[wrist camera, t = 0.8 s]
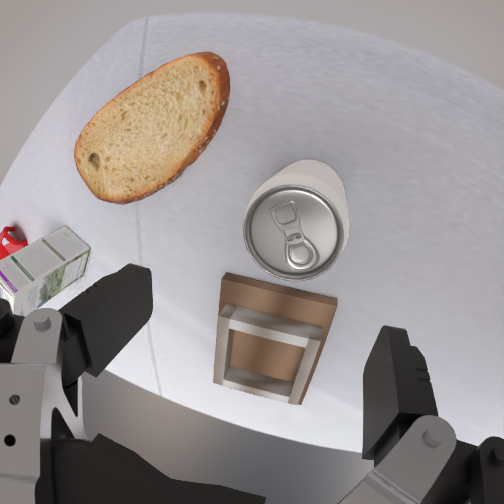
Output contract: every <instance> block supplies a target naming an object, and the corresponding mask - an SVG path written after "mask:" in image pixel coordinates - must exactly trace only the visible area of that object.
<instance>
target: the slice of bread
mask: <svg viewBox="0 0 504 504" xmlns="http://www.w3.org/2000/svg"><path fill="white" fill-rule="evenodd" d="M229 93H230V77H229V72H228V70H227V66H226V63H225V61H224V60H223V59H222V58H221V57H220V56H218V55H216V54H214V53H212V52H200V53H195V54H191V55H187V56H185V57H181V58H178V59H175V60H173V61H171V62H169V63H166V64H164V65H162V66H161V67H159V68H158V69H156V70H155V71H153V72H150V73H149V74H147V75H146V76H144V77H143V78H142V79H140V80H138V81H136V82H135V83H134V84H132V85H131V86H129V87H128V88H126V89H125V90H124V91H122V92H121V93H119V94H118V95H117V96H116V97H115V98H114V99H112V100H111V101H110V102H109V103H107V104H106V105H105V106H104V107H103V108H102V109H100V110H99V111H98V112H97V113H96V115H95V116H94V117H93V118H92V120H91V121H90V122H89V123H88V124H87V125H86V126H85V127H84V129H83V131H82V132H81V133H80V135H79V136H78V139H77V141H76V144H75V150H74V157H75V162H76V166H77V170H78V172H79V174H80V176H81V177H82V179H83V181H84V182H85V183H86V185H87V186H88V188H89V189H90V190H91V192H92V193H93V194H94V195H95V196H96V197H97V198H98V199H100V200H103V201H106V202H111V203H115V204H127V203H130V202H133V201H138V200H142V199H144V198H145V197H147V196H150V195H152V194H153V193H155V192H157V191H158V190H160V189H162V188H164V187H165V186H166V185H168V184H170V183H172V182H174V180H175V179H176V178H177V177H178V176H179V175H180V173H181V172H182V171H183V169H184V168H186V167H187V166H189V165H191V164H192V163H194V162H195V161H196V159H197V158H198V157H199V155H200V154H201V153H202V152H203V151H204V150H205V148H206V147H207V145H208V144H209V142H210V141H211V139H212V138H213V137H214V135H215V134H216V132H217V130H218V128H219V126H220V124H221V122H222V119H223V116H224V114H225V111H226V108H227V105H228V101H229Z"/></svg>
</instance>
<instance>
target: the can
mask: <svg viewBox="0 0 504 504" xmlns="http://www.w3.org/2000/svg"><path fill="white" fill-rule="evenodd" d="M349 231H350V220H349V212H348V206H347V200H346V195H345V190H344V186H343V183H342V181H341V179H340V177H339V176H338V174H337V173H336V172H335V171H334V170H333V169H332V168H331V167H330V166H328V165H327V164H325V163H323V162H320V161H317V160H310V159H307V160H300V161H296V162H294V163H292V164H290V165H288V166H287V167H285V168H284V169H282V170H281V171H279V172H278V173H277V174H275V175H274V176H273V177H271V178H270V179H269V180H267V181H266V182H265V183H263V184H262V185H261V186H260V187H259V188H258V189H257V190H256V192H255V193H254V194H253V196H252V197H251V199H250V201H249V203H248V205H247V208H246V212H245V218H244V228H243V234H244V241H245V245H246V247H247V250H248V252H249V254H250V256H251V257H252V259H253V260H254V261H255V263H256V264H257V265H258V266H259V267H260V268H261V269H263V270H264V271H265V272H267V273H268V274H270V275H272V276H274V277H277V278H279V279H283V280H287V281H305V280H309V279H312V278H315V277H317V276H319V275H321V274H323V273H324V272H326V271H327V270H328V269H329V268H330V267H331V266H332V265H333V264H334V263H335V261H336V260H337V259H338V258H339V256H340V255H341V254H342V252H343V250H344V248H345V246H346V244H347V241H348V237H349Z"/></svg>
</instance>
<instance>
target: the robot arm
mask: <svg viewBox="0 0 504 504" xmlns="http://www.w3.org/2000/svg"><path fill="white" fill-rule="evenodd" d="M152 311H153V295H152V275H151V271H150V269H149V268H145V267H142V266H138V265H135V264H131V263H130V264H127V265H126V266H125V267H123V268H122V269H121V270H119V271H118V272H116V273H113V274H110V275H108V276H105V277H102V278H101V279H100V280H98V281H97V282H95V283H94V284H93V286H90V287H89V288H87V289H86V290H85V292H84V291H83V292H82V293H81V294H79V295H78V296H76V297H75V298H74V299H73V300H71V301H70V302H69V303H67V304H66V305H65V306H63V307H62V308H61V309H59V310H58V311H57V310H55V309H52V308H41V309H37V310H35V311H32V312H31V313H29V314H28V315H27V316H26V317H24V316H20V315H15V314H13V312H12V308H11V305H10V303H9V301H8V300H6V299H3V298H0V504H264V503H265V500H266V497H263V496H258V495H254V494H250V493H246V492H242V491H239V490H234V489H231V488H228V487H224V486H221V485H212V484H203V483H195V482H188V481H181V480H175V479H171V478H169V477H167V476H166V475H164V474H163V473H162V472H160V471H159V470H157V469H156V468H154V467H153V466H152V465H151V464H149V463H148V462H147V461H145V460H144V459H143V458H142V457H140V456H139V455H138V454H137V453H135V452H134V451H132V450H130V449H128V448H126V447H124V446H122V445H120V444H118V443H116V442H114V441H113V440H111V439H109V438H107V437H105V436H103V435H102V434H100V433H99V434H98V435H97V436H96V437H95V439H94V440H93V441H90V440H87V438H86V435H85V432H84V428H83V419H82V380H81V377H80V376H81V374H82V373H83V372H84V371H85V372H87V373H89V374H91V375H93V376H94V377H97V376H98V375H99V374H100V373H101V372H102V371H103V370H104V369H105V368H106V366H107V365H108V364H109V363H110V362H111V361H112V360H113V359H114V358H115V356H116V355H117V354H118V353H119V352H120V351H121V350H122V349H123V348H124V347H125V346H126V344H127V343H128V342H129V341H130V340H131V339H132V338H133V337H134V336H135V335H136V334H137V332H138V331H139V330H140V329H141V328H142V327H143V326H144V325H145V324H146V323H147V322H148V320H149V319H150V317H151V314H152ZM427 371H428V368H427V365H426V361H425V358H424V356H423V355H422V354H421V352H420V351H419V350H418V348H417V347H415V346H410V342H409V338H408V334H407V331H406V330H405V329H402V328H396V327H391V326H386V325H384V326H383V327H382V328H381V330H380V333H379V335H378V337H377V339H376V342H375V344H374V346H373V348H372V351H371V353H370V355H369V357H368V359H367V362H366V365H365V368H364V373H363V451H362V459H367V460H374V469H373V470H372V471H371V472H370V473H369V474H368V475H367V476H366V477H365V478H364V479H363V480H362V481H361V482H360V483H359V484H358V485H357V486H356V487H354V489H352V491H350V492H349V493H348V494H347V495H346V496H345V497H344V498H343V499H342V500H340V501H339V502H338V503H337V504H469V503H471V504H504V439H502V438H500V437H495V436H493V437H489V438H487V439H486V440H484V441H483V442H482V443H481V444H480V445H479V446H475V445H472V444H468V443H465V442H462V441H459V440H457V439H456V434H455V431H454V430H453V428H452V426H451V425H450V424H449V423H448V422H447V421H445V420H444V419H442V418H440V417H439V416H438V411H437V406H436V402H435V397H434V393H433V389H432V384H431V382H430V376H429V372H427Z"/></svg>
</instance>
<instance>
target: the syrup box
mask: <svg viewBox="0 0 504 504" xmlns="http://www.w3.org/2000/svg"><path fill="white" fill-rule="evenodd" d="M89 251H90V247H89V246H88V245H87V244H86V243H85V242H84V241H82V240H81V239H80V238H79V237H78V236H77V235H76V234H75V233H74V232H72V231H71V230H70V229H69V228H68V227H67V226H65V227H63V228H61V229H59V230H57V231H55V232H53V233H51V234H49V235H47V236H45V237H43V238H41V239H39V240H37V241H35V242H33V243H31V244H29V245H28V246H26V247H24V248H22V249H20V250H18V251H16V252H14V253H13V254H11V255H9V256H7V257H5V258H4V259H2V260H0V298H3V299H6V300H8V301H9V303H10V305H11V308H12V312H13V314H15V315H20V316H24V317H26V316H27V315H28V314H29V313H31V312H32V311H35V310H36V309H38V308H39V307H40V306H42V305H43V304H44V303H46V302H47V301H48V300H50V299H51V298H52V297H54V296H55V295H57V294H58V293H59V292H61V291H62V290H64V289H65V288H66V287H68V286H69V285H70V284H72V283H73V282H75V281H76V280H78V279H79V278H80V277H82V276H83V274H84V270H85V266H86V262H87V258H88V255H89Z"/></svg>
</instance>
